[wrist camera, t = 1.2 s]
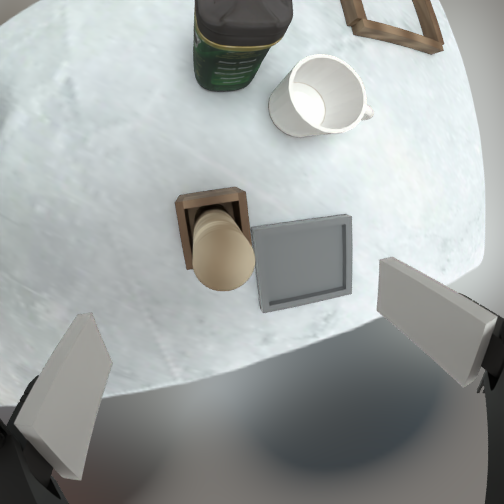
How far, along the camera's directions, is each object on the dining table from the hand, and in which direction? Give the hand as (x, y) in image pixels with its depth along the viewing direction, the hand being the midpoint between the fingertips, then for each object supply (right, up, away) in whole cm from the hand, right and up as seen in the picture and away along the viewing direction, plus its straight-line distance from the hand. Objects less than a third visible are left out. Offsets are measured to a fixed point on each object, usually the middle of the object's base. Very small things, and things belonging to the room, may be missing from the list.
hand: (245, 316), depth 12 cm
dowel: (-5, +7, +24) cm, 26 cm away
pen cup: (-5, +7, +25) cm, 27 cm away
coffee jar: (-3, +28, +20) cm, 34 cm away
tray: (+8, +1, +29) cm, 30 cm away
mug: (+7, +22, +23) cm, 33 cm away
